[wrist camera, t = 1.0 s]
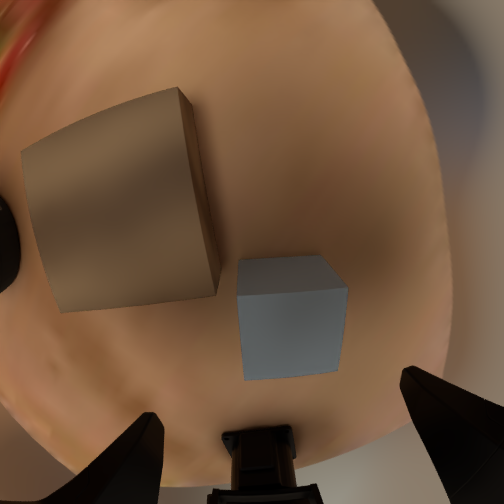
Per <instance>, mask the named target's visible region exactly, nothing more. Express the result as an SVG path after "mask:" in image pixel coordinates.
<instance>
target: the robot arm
mask: <svg viewBox="0 0 504 504" xmlns="http://www.w3.org/2000/svg"><path fill="white" fill-rule="evenodd" d="M400 390H401V393H402V395H403V398H404V400H405V403H406V406H407V408H408V411H409V414H410V417H411V419H412V421H413V424H414V426H415V428H416V430H417V432H418V433H419V435H420V437H421V439H422V441H423V443H424V445H425V447H426V450H427V452H428V454H429V456H430V458H431V460H432V462H433V464H434V466H435V469H436V471H437V473H438V475H439V477H440V479H441V482H442V484H443V486H444V489H445V491H446V493H447V496H448V498H449V500H450V503H451V504H504V407H502V406H500V405H498V404H495V403H493V402H491V401H488V400H486V399H485V400H484V398H481V397H479V396H477V395H475V394H473V393H471V392H468V391H466V390H464V389H462V388H460V387H458V386H455V385H453V384H451V383H449V382H447V381H445V380H443V379H441V378H439V377H437V376H434V375H432V374H430V373H428V372H426V371H424V370H422V369H420V368H418V367H416V366H413V365H412V366H409V367H406V368H404V369H403V370H402V375H401V380H400ZM221 439H222V441H223V443H224V445H225V447H226V449H227V451H228V452H229V454H230V456H231V458H232V468H231V490H220V489H214V488H213V491H212V494H209V495H207V504H324V503H323V500H322V498H321V495H320V492H319V489H318V487H317V484H316V483H315V484H310V485H308V486H300V487H297V485H296V478H295V471H294V465H293V459H295V458H296V451H295V444H294V438H293V432H292V427H291V426H288V425H287V426H280V427H274V428H267V429H260V430H252V431H243V432H232V433H223V434H222V437H221ZM163 454H164V426H163V424H162V422H161V421H160V419H159V418H158V416H157V415H156V413H154V412H144V413H143V414H142V415H141V416H140V417H139V418H138V419H137V420H136V421H134V422H133V423H132V424H131V425H130V426H129V427H128V428H127V429H126V430H125V431H124V432H123V433H122V434H121V435H120V436H119V437H118V438H117V439H116V440H115V441H114V442H113V443H112V444H111V445H110V446H108V447H107V448H106V449H105V450H104V451H103V452H102V453H101V454H100V455H99V456H98V457H97V458H96V459H95V460H93V461H92V462H91V463H90V464H89V465H88V467H86V468H85V469H84V470H82V471H81V472H80V473H79V474H78V475H77V476H75V477H74V478H73V479H72V480H71V481H69V482H68V483H66V484H65V485H64V486H62V487H61V488H59V489H58V490H56V491H55V492H53V493H52V494H51V495H49V496H48V497H46V498H44V499H42V500H39V501H2V500H0V504H157V503H158V496H159V488H160V481H161V475H162V468H163Z"/></svg>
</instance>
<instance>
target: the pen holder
mask: <svg viewBox="0 0 504 504" xmlns="http://www.w3.org/2000/svg"><path fill="white" fill-rule="evenodd" d="M18 266H19V240H18V234H17V230H16V226H15V223H14V220H13V217H12V215H11V212H10V210H9V208H8V207H7V205H6V204H5V202H4V201H3V200H2V199H1V198H0V293H1V292H2V291H4V290H5V289H6V288H7V287H8V286H10V285H11V284H12V282H13V281H14V279H15V277H16V274H17V270H18Z"/></svg>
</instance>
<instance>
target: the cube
mask: <svg viewBox="0 0 504 504" xmlns="http://www.w3.org/2000/svg"><path fill="white" fill-rule="evenodd" d="M347 298H348V286H347V285H346V284H345V283H344V282H343V280H342V279H341V278H340V277H339V276H338V274H337V273H336V272H335V271H334V270H333V269H332V267H331V266H330V265H329V264H328V263H327V262H326V260H325V259H324V258H323V257H322V256H321V255H311V256H294V257H278V258H261V259H244V260H239V262H238V281H237V305H238V317H239V329H240V340H241V351H242V361H243V372H244V380H262V379H275V378H286V377H296V376H305V375H313V374H321V373H328V372H334V371H338V366H339V360H340V354H341V347H342V340H343V333H344V325H345V317H346V308H347Z"/></svg>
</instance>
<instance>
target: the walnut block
mask: <svg viewBox="0 0 504 504" xmlns="http://www.w3.org/2000/svg"><path fill="white" fill-rule="evenodd" d="M21 159H22V169H23V177H24V184H25V190H26V197H27V202H28V207H29V212H30V217H31V222H32V226H33V230H34V235H35V238H36V242H37V246H38V250H39V253H40V257H41V260H42V263H43V266H44V270H45V273H46V276H47V279H48V282H49V284H50V287H51V290H52V293H53V295H54V298H55V301H56V303H57V306H58V308H59V311H60V313H67V312H79V311H90V310H101V309H111V308H121V307H130V306H139V305H148V304H156V303H165V302H173V301H180V300H188V299H196V298H203V297H210V296H216V293H217V288H218V283H219V279H220V274H221V265H220V260H219V255H218V250H217V245H216V240H215V235H214V230H213V225H212V220H211V215H210V209H209V204H208V199H207V193H206V188H205V182H204V176H203V171H202V165H201V159H200V153H199V147H198V141H197V135H196V129H195V122H194V116H193V109H192V104H191V103H190V102H189V100H188V99H187V98H186V97H185V95H184V94H183V93H182V92H181V91H180V89H179V88H178V87H174V88H170V89H166V90H163V91H159V92H156V93H152V94H149V95H146V96H143V97H139V98H136V99H133V100H130V101H127V102H125V103H122V104H119V105H116V106H114V107H111V108H108V109H106V110H103V111H101V112H98V113H96V114H93V115H91V116H89V117H86V118H84V119H82V120H79V121H77V122H75V123H73V124H71V125H69V126H66V127H64V128H62V129H60V130H58V131H56V132H54V133H52V134H50V135H49V136H47V137H45V138H43V139H41V140H39V141H38V142H36V143H34V144H32V145H30V146H29V147H27V148H25V149H24V150H22V151H21Z"/></svg>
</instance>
